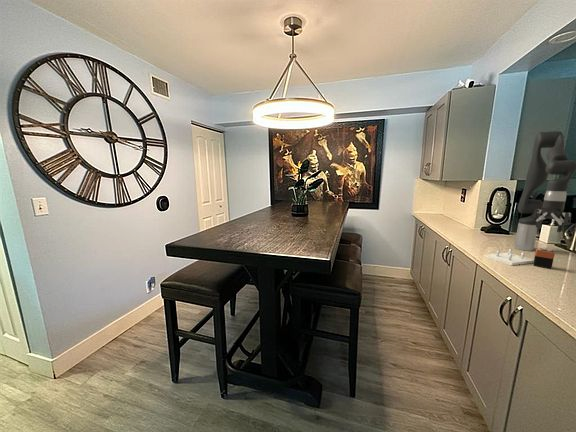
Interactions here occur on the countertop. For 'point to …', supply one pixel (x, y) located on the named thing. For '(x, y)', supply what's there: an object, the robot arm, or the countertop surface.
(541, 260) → the battery
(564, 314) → the countertop surface
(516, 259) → the pin dock
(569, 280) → the countertop surface
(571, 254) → the countertop surface
